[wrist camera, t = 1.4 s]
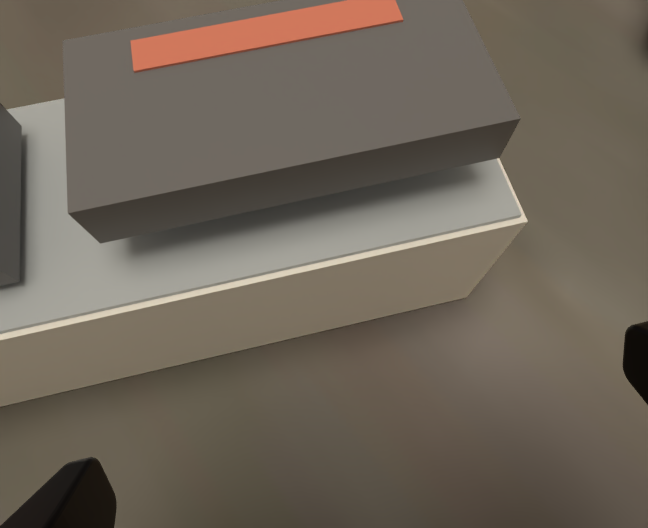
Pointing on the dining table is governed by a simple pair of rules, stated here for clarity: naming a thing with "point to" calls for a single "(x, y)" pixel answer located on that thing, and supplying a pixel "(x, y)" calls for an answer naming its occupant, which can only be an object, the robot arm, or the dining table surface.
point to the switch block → (230, 269)
